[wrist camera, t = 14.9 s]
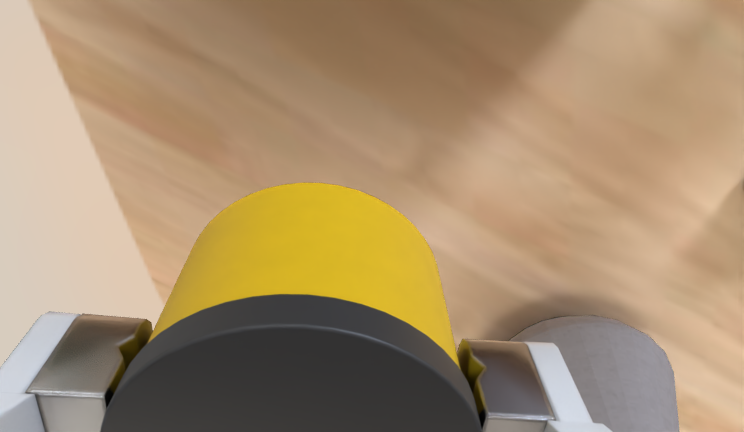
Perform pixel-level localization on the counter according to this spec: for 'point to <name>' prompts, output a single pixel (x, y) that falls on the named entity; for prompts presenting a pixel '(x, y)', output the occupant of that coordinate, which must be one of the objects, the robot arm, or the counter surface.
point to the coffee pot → (613, 371)
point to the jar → (301, 326)
